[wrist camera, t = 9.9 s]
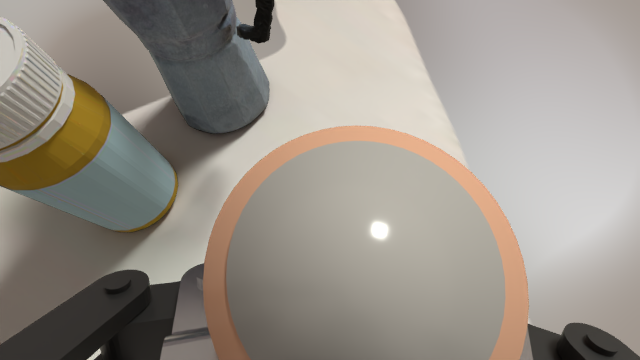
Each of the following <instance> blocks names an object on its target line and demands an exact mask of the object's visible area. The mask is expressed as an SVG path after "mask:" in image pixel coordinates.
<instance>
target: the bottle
mask: <svg viewBox="0 0 640 360" xmlns="http://www.w3.org/2000/svg"><path fill="white" fill-rule="evenodd" d="M0 186H1V187H4V188H6V189H9V190H11V191H14V192H16V193H19V194H22V195H24V196H27V197H29V198H32V199H34V200H37V201H39V202H42V203H44V204H47V205H49V206H52V207H54V208H57V209H59V210H62V211H64V212H67V213H69V214H72V215H74V216H77V217H79V218H82V219H85V220H87V221H90V222H92V223H95V224H97V225H100V226H102V227H105V228H108V229H110V230H114V231H117V232H134V231H137V230H141V229H144V228H147V227H149V226H150V225H152V224H153V223H155V222H157V221H158V220H159V219H161V218H162V216H163V215H164V214H165V213H166V212H167V211H168V210H169V209H170V207H171V205H172V203H173V202H174V200H175V197H176V194H177V189H178V180H177V175H176V172H175V170H174V169H173V167H172V165H171V164H170V163H169V162H168V161H167V160H166V159H165V158H164V157H163V156H162V155H161V154H160V153H159V152H158V151H157V150H156V149H155V148H154V147H153V146H152V145H151V144H150V143H149V142H148V141H147V140H146V139H145V138H144V137H143V136H142V135H141V134H140V133H139V132H138V131H137V130H136V129H135V128H134V127H133V126H132V125H131V124H130V123H129V122H128V121H127V120H126V119H125V118H124V117H123V116H122V115H121V114H120V113H119V112H118V111H117V110H116V109H115V108H114V107H113V106H112V105H111V104H110V103H109V102H108V101H107V100H106V99H105V98H104V97H103V96H102V95H100V94H99V93H98V92H97V91H96V90H95V89H94V88H92V87H91V86H90V85H88V84H87V83H86V82H84V81H82V80H79V79H77V78H75V77H73V76H71V75H69V74H66V73H65V72H64V70H63V69H62V68H60V67H59V66H58V65H57V64H56V63H55V62H54V61H53V59H52V58H50V57H49V56H48V55H47V54H46V53H45V52H44V51H43V50H42V49H41V48H40V47H39V46H38V45H37V44H36V43H35V42H34V41H33V40H32V39H30V38H29V37H28V36H27V35H26V34H25V33H24V32H23V31H22V30H21V29H20V28H19V27H17V26H16V25H15V24H13V23H11V22H10V21H8V20H6V19H4V18H2V17H0Z"/></svg>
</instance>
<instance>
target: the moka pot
mask: <svg viewBox="0 0 640 360" xmlns="http://www.w3.org/2000/svg"><path fill="white" fill-rule="evenodd" d="M103 1H104V2H105V3H106V4H107V5H108V6H109V7H110V9H111V10H112V11H113V12H114V13H115V14H116V15H117V16H118V17H119V18H120V19H121V20H122V21H123V22H124V23H125V24H126V25H127V26H128V27H129V28H130V29H131V30H132V31H133V32H134V33H135V34H136V35H137V36H138V38H139V39H140V40H141V42H142V43H143V44H144V46H145V47H146V48H147V49H148V50H149V52H150V54H151V56H152V58H153V60H154V62H155V63H156V65H157V67H158V69H159V71H160V73H161V75H162V77H163V79H164V82H165V84H166V86H167V88H168V90H169V91H170V94H171V96H172V98H173V100H174V101H175V103H176V105H177V107H178V108H179V110H180V112H181V113H182V115H183V117H184V118H185V120H186V122H187V123H188V125H189V126H191V127H193V128H195V129H198V130H201V131H205V132H208V133H226V132H231V131H234V130H237V129H239V128H241V127H243V126H245V125H247V124H249V123H251V122H252V121H253V120H254V119H255V118H256V117H257V116H259V115H260V114H261V112H262V111H263V110H264V109H266V107H267V104H268V100H269V81H268V78H267V76H266V74H265V72H264V70H263V68H262V66H261V64H260V62H259V60H258V58H257V56H256V54H255V52H254V50H253V48H252V46H251V43H250V41H249V39H250V40H251V41H255V42H257V43H262V42H266V41H268V40H269V36H270V29H271V26H270V25H271V22H272V10H273V7H274V0H256V7H257V11H256V15H255V18H254V26H249V25H246V24H241V22H240V21H239V19H238V18H237V17H236V12H235V9H234V5H233V2H232V0H103Z"/></svg>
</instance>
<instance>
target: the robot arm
mask: <svg viewBox="0 0 640 360" xmlns="http://www.w3.org/2000/svg"><path fill="white" fill-rule="evenodd" d="M203 275H204V264H200V265H197V266H195V267H193V268H191V269H190V270H188V271H187V272H186V273H185V274H184V275H183V277H182V278H181V281H179V282H173V283H164V284H155V285H150V283H149V278H148V276H147V274H145V273H144V272H142V271H138V270H122V271H118V272H114V273H111V274H109V275H106V276H104V277H102V278H100V279H99V280H97V281H96V282H94V283H93V284H91V285H90V286H88V287H87V288H85V289H84V290H82V291H81V292H79V293H78V294H76V295H75V296H73V297H72V298H70V299H69V300H67V301H66V302H64V303H63V304H61V305H60V306H58V307H57V308H55V309H54V310H52V311H51V312H49V313H48V314H46V315H45V316H43V317H41V318H40V319H38V320H37V321H35V322H34V323H32V324H31V325H29V326H28V327H26V328H25V329H23V330H22V331H20V332H19V333H17V334H16V335H14V336H13V337H11V338H10V339H8V340H7V341H5V342H4V343H2V344H1V345H0V360H87V359H88V358H89V357H90V356H91V355H93V354H94V353H95V352H96V351H97V350H98V349H99V348H100V350H101V354H100V355H99V356H98V357H96V358H95V359H94V360H219V358H218V356H217V354H216V352H215V349H214V345H213V342H212V339H211V336H210V333H209V330H208V325H207V320H206V314H205V308H204V296H203ZM519 360H640V357H639V356H638V355H637V354H635V353H634V352H633V351H632V350H631V349H630V348H628V347H627V346H626V345H625V344H623V343H622V342H621V341H620V340H618V339H617V338H615V337H614V336H612V335H610V334H609V333H607V332H605V331H603V330H601V329H598V328H596V327H593V326H590V325H587V324H583V323H570V324H568V325H566V326H565V328H564V330H563V332H562V334H561V335H559V334H556V333H553V332H550V331H547V330H544V329H541V328H538V327H535V326H533V325H530V324H528V325H527V332H526V336H525V341H524V346H523V351H522V354H521V356H520V359H519Z"/></svg>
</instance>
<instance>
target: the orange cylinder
mask: <svg viewBox="0 0 640 360" xmlns="http://www.w3.org/2000/svg"><path fill="white" fill-rule="evenodd" d="M203 296H204V308H205V314H206V320H207V325H208V330H209V333H210V336H211V339H212V342H213V345H214V349H215V352H216V354H217V356H218V358H219V360H519V359H520V356H521V354H522V351H523V346H524V341H525V336H526V332H527V325H528V310H529V299H528V283H527V277H526V272H525V267H524V261H523V258H522V255H521V252H520V248H519V245H518V242H517V239H516V237H515V235H514V233H513V231H512V228H511V226H510V224H509V222H508V220H507V218H506V216H505V215H504V213H503V211H502V210H501V208H500V206H499V205H498V203H497V202H496V200H495V199H494V198H493V196H492V195H491V194H490V192H489V191H488V190H487V188H486V187H485V186H484V185H483V184H482V183H481V182H480V181H479V180H478V179H477V178H476V177H475V175H474V174H473V173H472V172H470V171H469V170H468V169H467V168H466V167H465V166H463V165H462V164H461V163H460V162H459V161H457V160H456V159H455V158H453V157H452V156H450V155H449V154H447V153H446V152H444V151H443V150H441V149H440V148H438V147H436V146H434V145H432V144H430V143H428V142H426V141H424V140H422V139H419V138H417V137H414V136H411V135H409V134H406V133H402V132H399V131H395V130H391V129H385V128H379V127H373V126H343V127H334V128H329V129H323V130H319V131H316V132H312V133H309V134H306V135H303V136H301V137H298V138H296V139H294V140H291V141H289V142H287V143H285V144H284V145H282V146H280V147H279V148H277V149H275V150H273V151H272V152H271V153H269V154H268V155H267V156H265V157H264V158H263V159H261V160H260V161H259V162H258V163H257V164H256V165H254V166H253V167H252V168H251V169H250V170H249V171H248V172H247V173H246V174H245V175H244V177H243V178H242V179H241V180H240V181H239V183H238V184H237V185H236V186H235V187H234V189H233V190H232V192H231V193H230V195H229V197H228V198H227V200H226V201H225V203H224V205H223V207H222V209H221V211H220V213H219V215H218V217H217V219H216V221H215V224H214V227H213V230H212V233H211V236H210V239H209V242H208V247H207V252H206V257H205V262H204V275H203Z"/></svg>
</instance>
